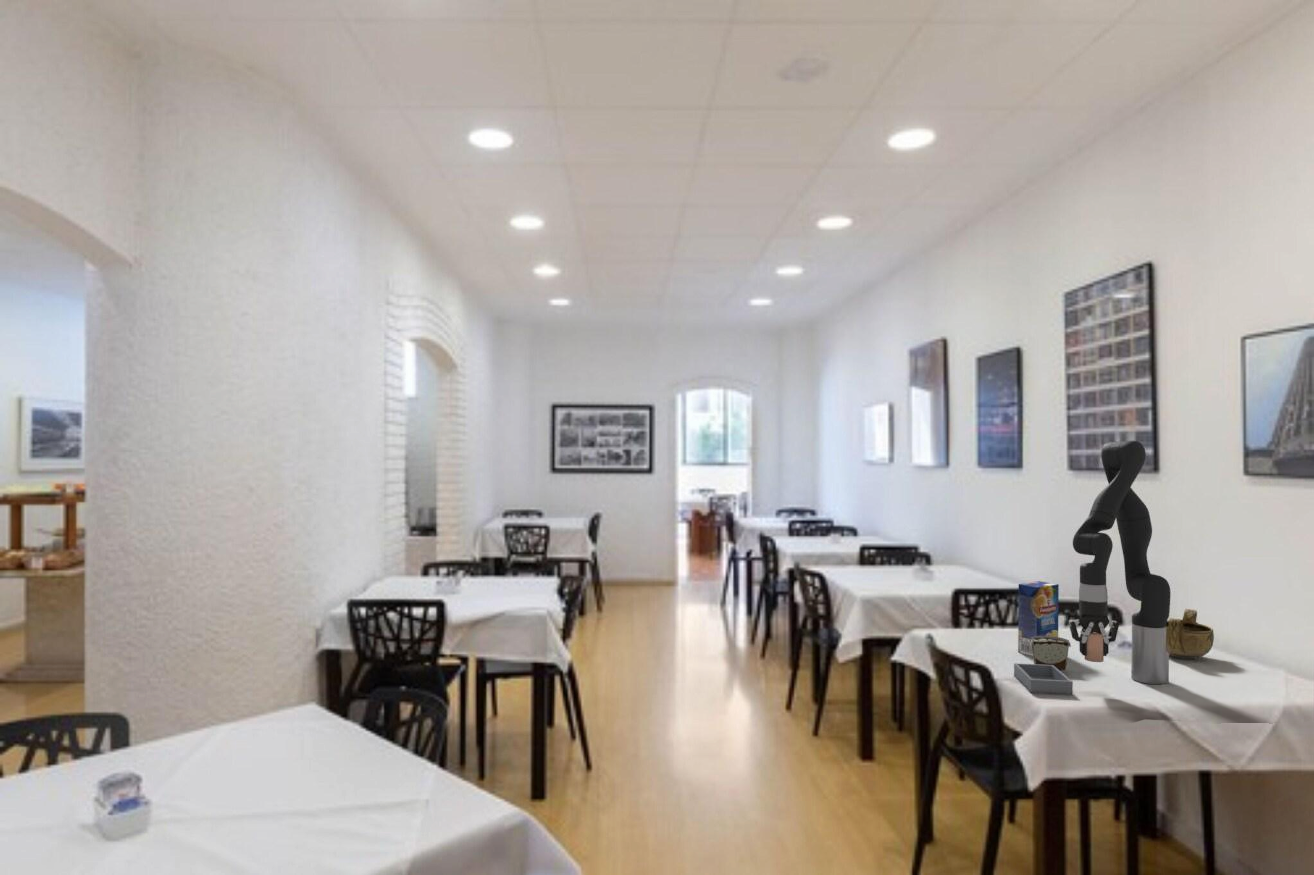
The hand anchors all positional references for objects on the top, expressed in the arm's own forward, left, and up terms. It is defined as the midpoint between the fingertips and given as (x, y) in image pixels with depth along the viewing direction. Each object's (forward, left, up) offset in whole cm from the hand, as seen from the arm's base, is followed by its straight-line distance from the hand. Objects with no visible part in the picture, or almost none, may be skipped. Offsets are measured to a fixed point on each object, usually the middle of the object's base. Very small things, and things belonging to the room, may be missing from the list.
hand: (1093, 654), depth 244 cm
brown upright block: (0, 0, -1) cm, 1 cm away
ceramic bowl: (-45, -44, -11) cm, 64 cm away
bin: (+14, -2, -10) cm, 18 cm away
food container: (+6, -22, -11) cm, 25 cm away
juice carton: (+3, -42, -11) cm, 44 cm away
